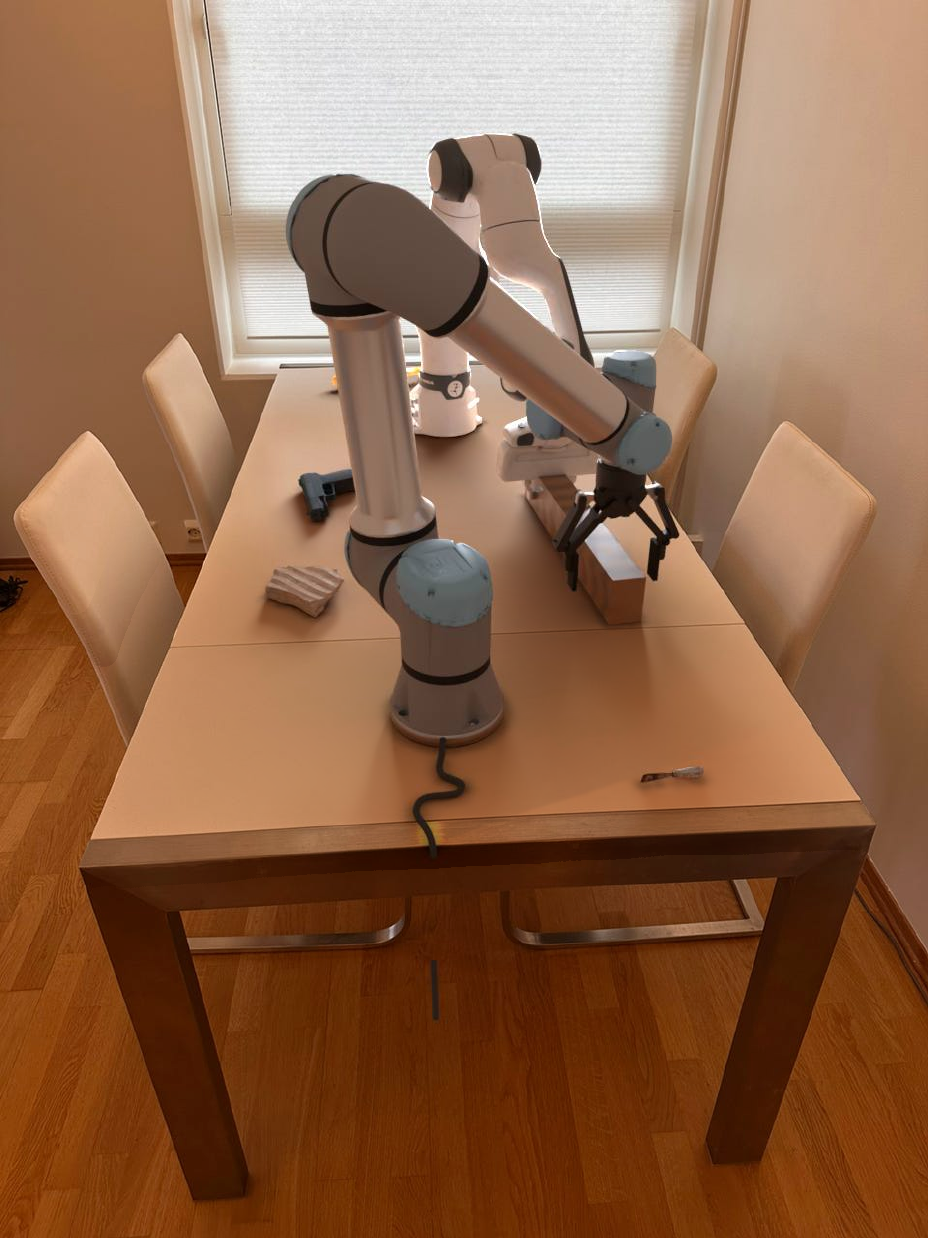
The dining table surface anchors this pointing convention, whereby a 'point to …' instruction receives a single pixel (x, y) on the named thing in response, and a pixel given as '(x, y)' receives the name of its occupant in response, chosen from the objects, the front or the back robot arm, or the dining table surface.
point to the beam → (593, 554)
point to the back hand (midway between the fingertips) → (547, 497)
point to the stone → (304, 587)
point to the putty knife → (674, 774)
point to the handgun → (324, 490)
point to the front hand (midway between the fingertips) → (612, 582)
